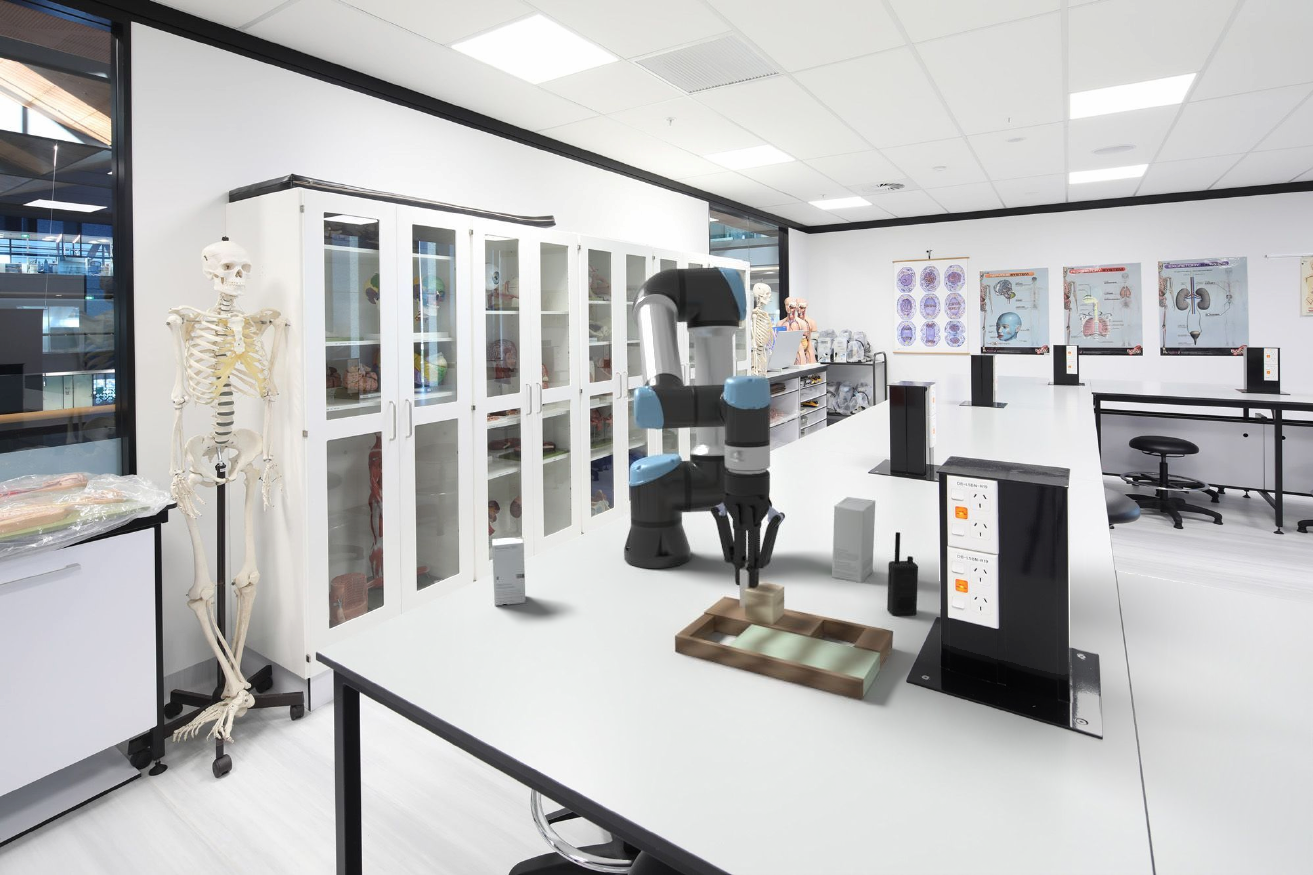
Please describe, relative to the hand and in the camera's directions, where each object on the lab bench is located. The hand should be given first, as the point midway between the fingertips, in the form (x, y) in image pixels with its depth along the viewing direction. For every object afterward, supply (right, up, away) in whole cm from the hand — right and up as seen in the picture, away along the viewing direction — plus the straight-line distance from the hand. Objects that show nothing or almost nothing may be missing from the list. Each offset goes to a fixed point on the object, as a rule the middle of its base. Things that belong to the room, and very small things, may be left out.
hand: (747, 603), depth 119 cm
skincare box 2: (+26, 0, +26) cm, 36 cm away
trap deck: (+5, -6, -7) cm, 10 cm away
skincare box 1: (-44, -3, +16) cm, 47 cm away
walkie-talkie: (+29, -3, +6) cm, 30 cm away
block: (+3, -2, -1) cm, 4 cm away
